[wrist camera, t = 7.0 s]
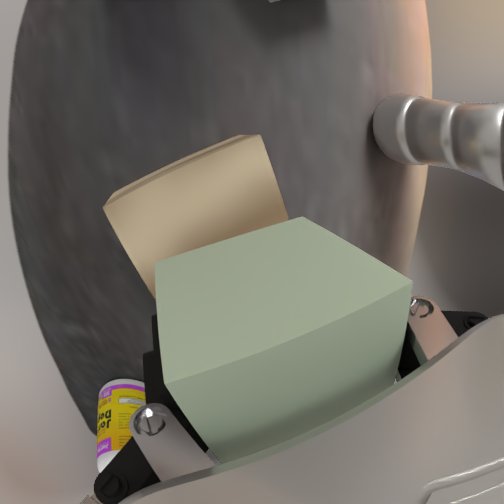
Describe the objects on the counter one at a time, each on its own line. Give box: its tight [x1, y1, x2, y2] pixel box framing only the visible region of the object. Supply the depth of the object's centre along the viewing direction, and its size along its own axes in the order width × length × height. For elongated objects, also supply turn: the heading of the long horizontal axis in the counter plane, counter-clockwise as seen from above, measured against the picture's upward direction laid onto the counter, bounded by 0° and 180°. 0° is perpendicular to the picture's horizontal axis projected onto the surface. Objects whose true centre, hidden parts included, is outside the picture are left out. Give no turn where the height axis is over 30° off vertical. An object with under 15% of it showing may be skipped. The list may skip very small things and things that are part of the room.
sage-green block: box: [154, 216, 413, 464], centre depth 10 cm, size 6×6×6 cm
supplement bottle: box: [97, 379, 146, 473], centre depth 20 cm, size 7×7×13 cm
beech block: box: [103, 135, 289, 300], centre depth 20 cm, size 10×10×5 cm
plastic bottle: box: [373, 93, 504, 191], centre depth 15 cm, size 6×7×20 cm
